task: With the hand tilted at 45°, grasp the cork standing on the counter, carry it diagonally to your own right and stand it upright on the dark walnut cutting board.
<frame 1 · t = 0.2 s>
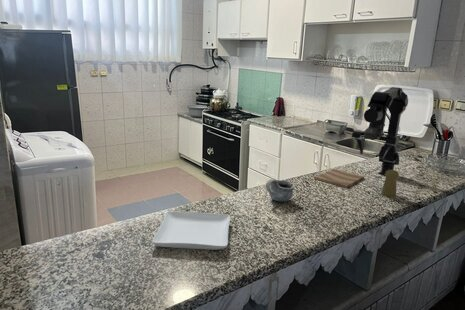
hand: (371, 156, 152), 14 cm above the countertop, tool pointing down, fingers open, 9 cm apart
salad plate: (194, 236, 105), on the countertop
walnut board: (339, 178, 165), on the countertop
cork: (388, 195, 147), on the countertop
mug: (278, 201, 134), on the countertop
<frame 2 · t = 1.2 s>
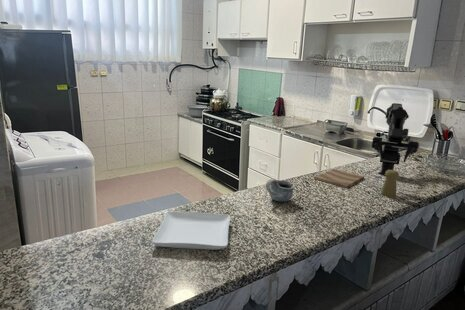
hand: (392, 160, 150), 13 cm above the countertop, tool tilted 45°, fingers open, 9 cm apart
nothing on the countertop moved.
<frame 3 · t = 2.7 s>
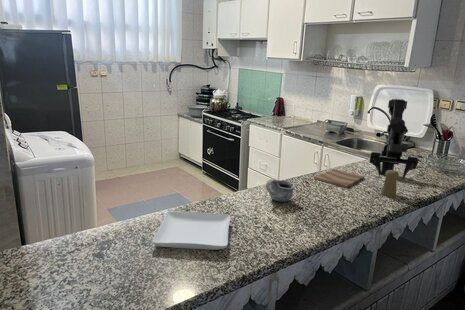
hand: (391, 177, 145), 8 cm above the countertop, tool tilted 45°, fingers open, 9 cm apart
nothing on the countertop moved.
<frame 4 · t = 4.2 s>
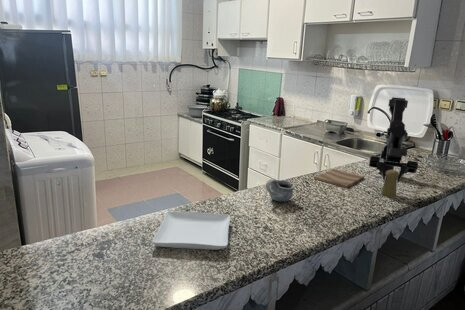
hand: (390, 181, 144), 7 cm above the countertop, tool tilted 45°, fingers closed on cork, 5 cm apart
cork: (388, 195, 147), on the countertop, touching gripper
everything else where it was.
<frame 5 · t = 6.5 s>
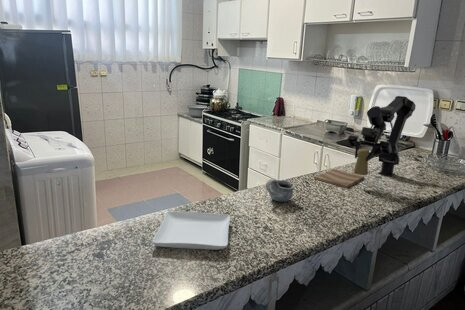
hand: (361, 159, 151), 13 cm above the countertop, tool tilted 45°, fingers closed on cork, 5 cm apart
cork: (360, 173, 153), point 6 cm above the countertop, touching gripper
everything else where it was.
when the fingers open (9 cm above the countertop, at t = 9.1 s): cork stays where it is, resting on walnut board.
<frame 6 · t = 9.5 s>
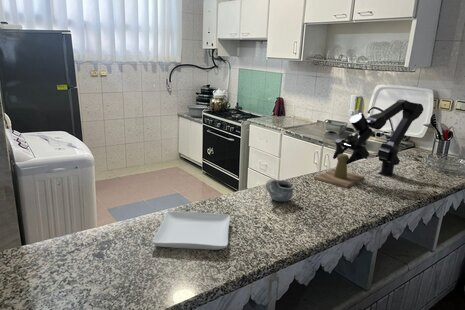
hand: (339, 161, 162), 9 cm above the countertop, tool tilted 45°, fingers open, 9 cm apart
cork: (340, 176, 165), point 1 cm above the countertop, touching walnut board
everything else where it was.
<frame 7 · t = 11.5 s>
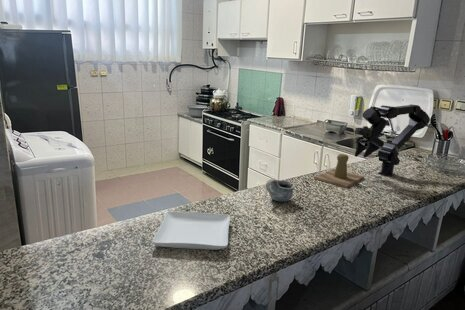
hand: (359, 156, 165), 11 cm above the countertop, tool tilted 30°, fingers open, 9 cm apart
nothing on the countertop moved.
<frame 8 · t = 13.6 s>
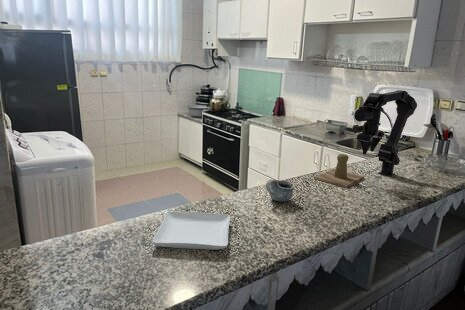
hand: (368, 152, 164), 13 cm above the countertop, tool pointing down, fingers open, 9 cm apart
nothing on the countertop moved.
at the end: cork inside the target area on the walnut board (0.1 cm from its centre), point 1.0 cm above the walnut board's base; cork tilted 0°; the gripper is holding nothing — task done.
